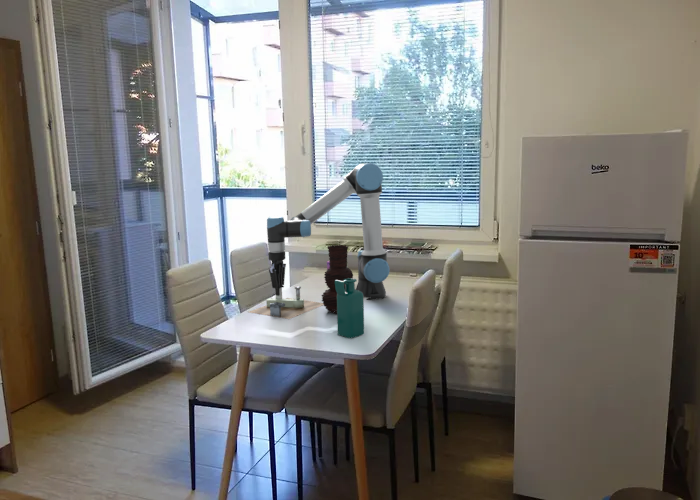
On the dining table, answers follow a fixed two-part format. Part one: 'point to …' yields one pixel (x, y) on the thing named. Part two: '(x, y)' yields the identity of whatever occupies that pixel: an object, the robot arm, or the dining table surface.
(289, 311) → the board
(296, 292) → the peg
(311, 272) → the dining table surface
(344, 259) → the vase
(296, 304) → the link
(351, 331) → the green bottle
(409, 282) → the dining table surface
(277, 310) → the block
